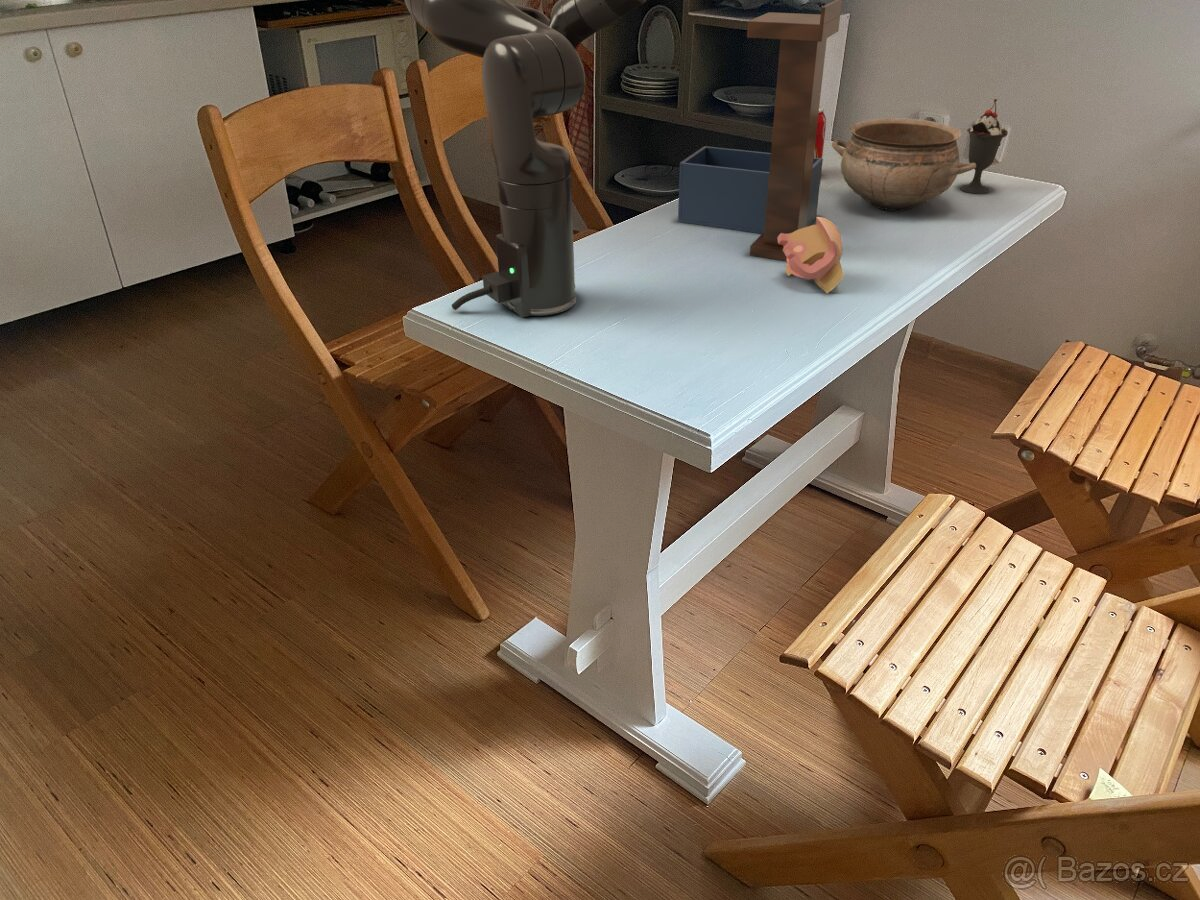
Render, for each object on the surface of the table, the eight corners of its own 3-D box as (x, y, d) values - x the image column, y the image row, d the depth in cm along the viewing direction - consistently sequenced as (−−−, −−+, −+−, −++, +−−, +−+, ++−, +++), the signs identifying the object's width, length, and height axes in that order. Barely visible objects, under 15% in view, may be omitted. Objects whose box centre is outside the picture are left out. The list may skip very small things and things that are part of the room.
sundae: (985, 183, 162) (1004, 96, 154) (1000, 194, 156) (1021, 104, 148) (949, 184, 162) (966, 97, 154) (963, 195, 156) (981, 105, 148)
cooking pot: (800, 204, 154) (808, 131, 147) (852, 178, 166) (861, 109, 159) (940, 234, 140) (956, 155, 133) (986, 204, 152) (1002, 130, 145)
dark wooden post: (732, 254, 135) (749, 4, 116) (751, 235, 141) (769, -4, 123) (800, 264, 131) (829, 7, 112) (816, 244, 137) (846, -2, 119)
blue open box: (677, 221, 147) (679, 163, 142) (701, 202, 156) (704, 146, 150) (797, 238, 140) (804, 177, 134) (816, 217, 148) (823, 158, 143)
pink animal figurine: (791, 266, 132) (845, 224, 127) (820, 319, 127) (877, 277, 122) (759, 247, 125) (814, 202, 120) (788, 302, 120) (847, 257, 116)
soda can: (820, 181, 165) (828, 113, 158) (781, 179, 166) (787, 112, 159) (820, 170, 171) (827, 104, 164) (782, 169, 172) (788, 103, 165)
